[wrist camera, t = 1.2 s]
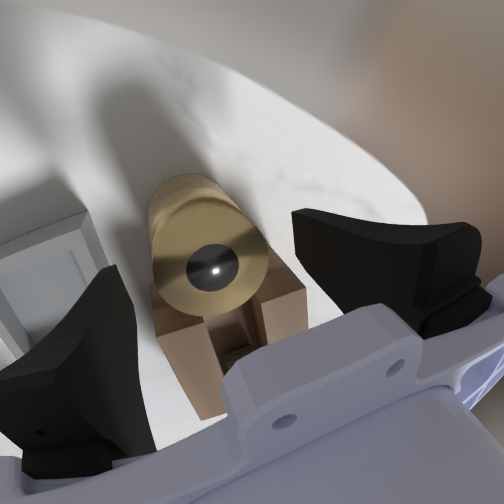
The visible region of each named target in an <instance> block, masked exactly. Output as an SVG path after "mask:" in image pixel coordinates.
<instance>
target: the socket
mask: <svg viewBox="0 0 504 504" xmlns="http://www.w3.org/2000/svg"><path fill="white" fill-rule="evenodd" d="M108 266H109V263H108V261H107V259H106V256H105V254H104V251H103V249H102V246H101V244H100V241H99V238H98V236H97V233H96V231H95V228H94V225H93V223H92V220H91V217H90V214H89V211H88V210H87V211H85V212H82V213H79V214H76V215H74V216H71V217H68V218H65V219H63V220H60V221H57V222H55V223H52V224H50V225H47V226H45V227H42V228H40V229H37V230H35V231H32V232H30V233H27V234H25V235H22V236H20V237H18V238H15V239H13V240H10V241H8V242H6V243H4V244H1V245H0V337H1V338H2V339H3V341H4V342H5V344H6V345H7V346H8V348H9V349H10V350H11V352H12V353H13V355H14V356H15V357H16V358H17V360H18V359H19V358H20V357H22V356H23V355H24V354H26V353H27V352H28V351H29V350H31V349H32V348H33V347H34V346H36V345H37V344H38V343H39V342H40V341H41V340H42V339H43V338H44V337H45V336H46V335H47V334H49V333H50V332H51V331H52V330H53V329H54V328H55V326H56V325H57V324H58V323H59V322H60V321H61V320H62V319H63V318H64V317H65V315H66V314H67V313H68V312H69V310H70V309H71V308H72V307H73V305H74V304H75V303H76V301H77V300H78V299H79V298H80V296H81V295H82V293H83V292H84V291H85V289H86V288H87V287H88V285H89V284H90V282H91V281H92V280H93V278H94V277H95V276H96V274H97V273H98V272H99V271H100V270H101V269H102V268H105V267H108Z"/></svg>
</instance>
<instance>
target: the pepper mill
mask: <svg viewBox="0 0 504 504" xmlns="http://www.w3.org/2000/svg"><path fill="white" fill-rule="evenodd" d="M148 225H149V237H150V247H151V257H152V266H153V274H154V281H155V284H156V287H157V289H158V291H159V293H160V294H161V296H162V297H163V299H164V300H165V301H166V302H167V303H168V304H170V305H171V306H172V307H174V308H175V309H177V310H179V311H181V312H183V313H186V314H189V315H194V316H214V315H219V314H223V313H226V312H229V311H231V310H233V309H235V308H237V307H239V306H240V305H242V304H243V303H245V302H246V301H247V300H248V299H250V298H251V297H252V296H253V295H254V293H255V292H256V291H257V290H258V288H259V287H260V285H261V284H262V282H263V280H264V278H265V275H266V272H267V268H268V261H269V255H268V248H267V244H266V241H265V239H264V237H263V235H262V234H261V232H260V231H259V230H258V228H257V227H256V226H255V225H254V224H253V223H252V222H251V221H250V220H249V218H248V217H247V216H246V215H245V214H244V213H243V212H242V211H241V210H240V209H239V207H238V206H237V205H236V204H235V203H234V202H233V201H232V200H231V199H230V198H229V197H228V195H227V194H226V193H225V192H224V191H223V190H222V189H221V188H220V187H219V186H218V185H217V184H216V183H215V182H214V181H212V180H211V179H209V178H207V177H205V176H202V175H197V174H184V175H179V176H176V177H173V178H171V179H169V180H168V181H166V182H165V183H163V184H162V185H161V186H160V187H159V188H158V189H157V190H156V192H155V193H154V195H153V197H152V199H151V201H150V204H149V208H148Z"/></svg>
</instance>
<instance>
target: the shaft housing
mask: <svg viewBox="0 0 504 504" xmlns="http://www.w3.org/2000/svg"><path fill="white" fill-rule="evenodd" d="M268 255H269V261H268V268H267V272H266V275H265V278H264V280H263V282H262V284H261V285H260V287H259V288H258V290H257V291H256V292H255V293H254V295H253V296H252V297H251V298H250V299H248V300H247V301H246V302H245V303H243V304H242V305H240V306H239V307H237V308H235V309H233V310H231V311H229V312H226V313H223V314H219V315H214V316H194V315H189V314H186V313H183V312H181V311H179V310H177V309H175V308H174V307H172V306H171V305H170V304H168V303H167V302H166V301H165V300H164V299H163V297H162V296H161V294H160V293H159V291H158V289H157V287H156V284H152V285H150V292H151V301H152V309H153V317H154V325H155V332H156V338H157V340H158V342H159V344H160V346H161V348H162V350H163V352H164V354H165V356H166V358H167V360H168V362H169V364H170V366H171V368H172V370H173V371H174V373H175V375H176V377H177V379H178V381H179V383H180V384H181V386H182V388H183V390H184V392H185V394H186V395H187V397H188V399H189V401H190V402H191V404H192V406H193V408H194V409H195V411H196V413H197V414H198V416H199V418H200V420H201V421H202V420H205V419H209V418H212V417H215V416H218V415H221V414H225V413H227V411H226V409H225V406H224V403H223V400H222V397H221V382H222V378H223V377H224V376H225V375H226V374H227V372H228V370H227V367H226V364H225V361H224V358H223V354H226V353H229V352H232V351H235V350H238V349H241V348H244V347H247V346H249V345H252V346H253V348H254V350H257V349H259V348H261V347H264V346H266V345H269V344H272V343H275V342H277V341H280V340H283V339H285V338H288V337H290V336H293V335H296V334H298V333H301V332H303V331H306V330H308V312H307V294H306V287H305V286H304V284H303V283H302V282H301V281H300V280H299V279H298V278H297V276H296V275H295V274H294V273H293V272H292V271H291V270H290V268H289V267H288V266H287V265H286V264H285V263H284V262H283V260H282V259H281V258H280V257H279V256H278V255H277V254H276V252H275V251H274V250H273V249H272V248H268Z"/></svg>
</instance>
